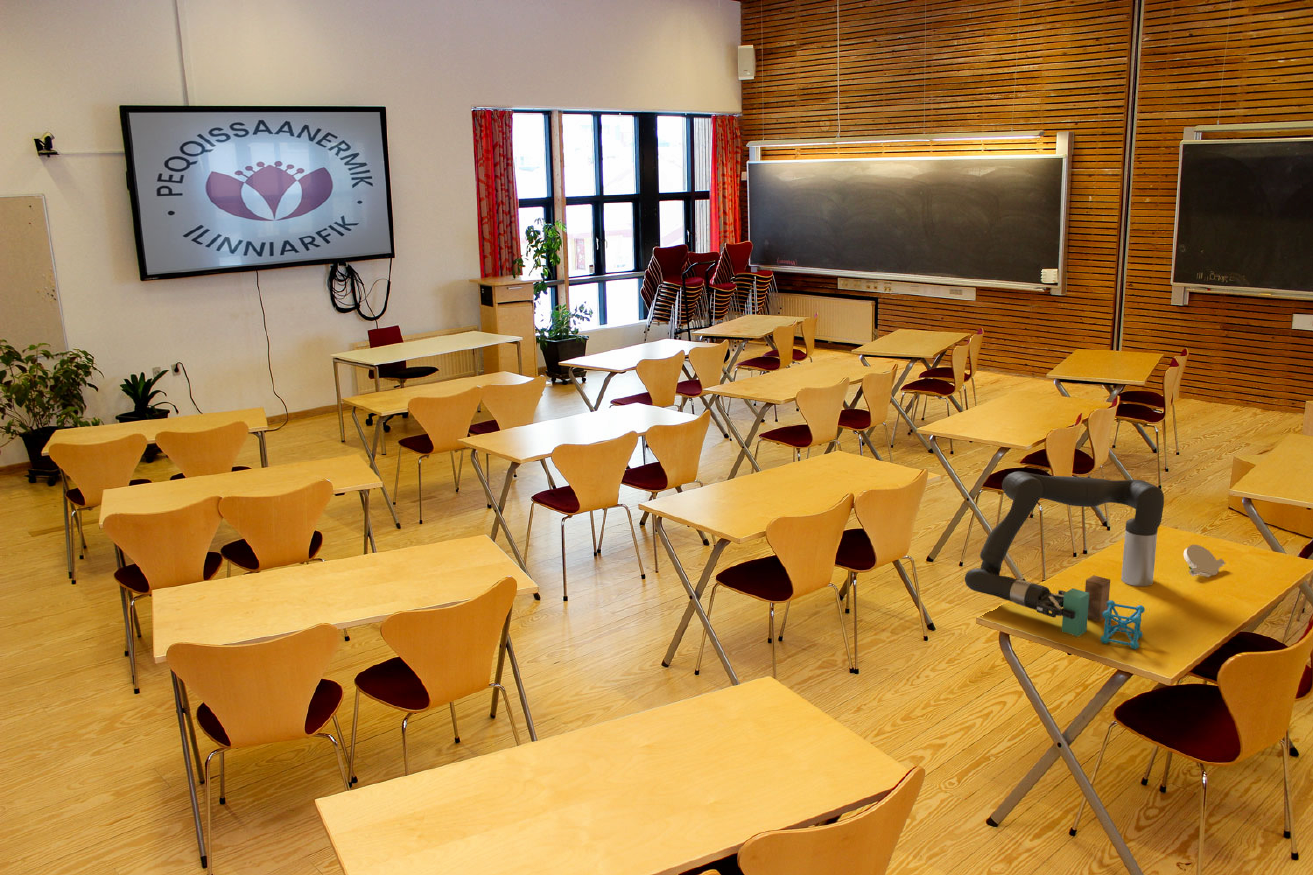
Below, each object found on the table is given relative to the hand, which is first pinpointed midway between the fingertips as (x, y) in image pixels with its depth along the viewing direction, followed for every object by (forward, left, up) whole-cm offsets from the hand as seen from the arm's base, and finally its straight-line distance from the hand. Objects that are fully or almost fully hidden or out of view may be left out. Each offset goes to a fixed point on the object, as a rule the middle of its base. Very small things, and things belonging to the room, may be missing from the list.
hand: (1081, 610), depth 289 cm
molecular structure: (+2, +11, -7) cm, 13 cm away
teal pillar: (-1, -2, -7) cm, 7 cm away
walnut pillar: (-12, +5, -7) cm, 15 cm away
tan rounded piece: (-55, +39, -7) cm, 68 cm away
